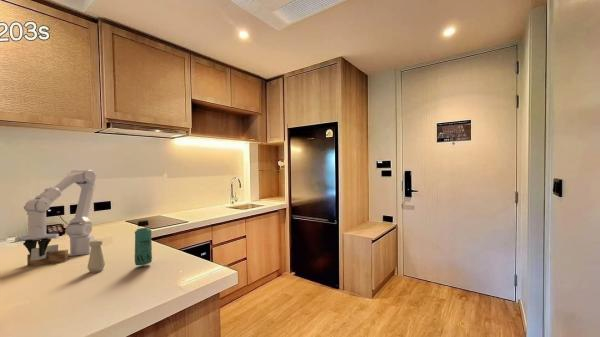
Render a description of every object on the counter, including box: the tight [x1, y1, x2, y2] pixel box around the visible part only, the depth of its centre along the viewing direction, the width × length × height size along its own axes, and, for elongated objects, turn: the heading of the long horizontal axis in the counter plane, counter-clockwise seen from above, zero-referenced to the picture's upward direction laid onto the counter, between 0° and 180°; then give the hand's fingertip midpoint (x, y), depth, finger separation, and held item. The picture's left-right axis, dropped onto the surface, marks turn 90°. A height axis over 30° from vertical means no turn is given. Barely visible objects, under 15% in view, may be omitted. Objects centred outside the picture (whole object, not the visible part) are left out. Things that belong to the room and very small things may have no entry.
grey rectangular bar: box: [31, 244, 59, 261], centre depth 119 cm, size 15×2×5 cm, turn 18°
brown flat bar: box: [26, 249, 69, 267], centre depth 120 cm, size 14×2×5 cm, turn 108°
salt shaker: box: [87, 239, 106, 274], centre depth 107 cm, size 6×6×13 cm
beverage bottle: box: [134, 219, 153, 266], centre depth 111 cm, size 6×7×20 cm
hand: (37, 256), depth 114 cm, fingers closed on grey rectangular bar, 2 cm apart
